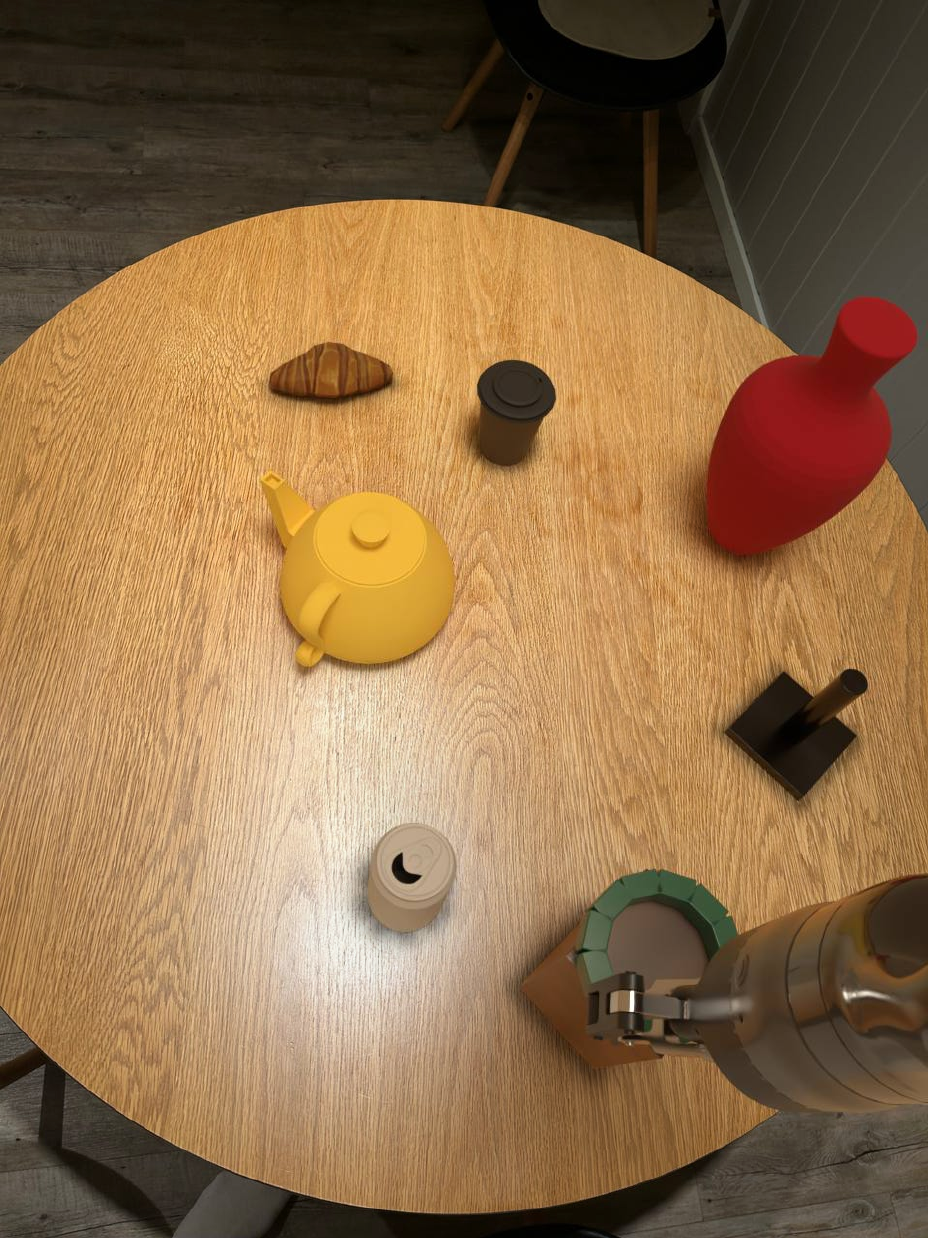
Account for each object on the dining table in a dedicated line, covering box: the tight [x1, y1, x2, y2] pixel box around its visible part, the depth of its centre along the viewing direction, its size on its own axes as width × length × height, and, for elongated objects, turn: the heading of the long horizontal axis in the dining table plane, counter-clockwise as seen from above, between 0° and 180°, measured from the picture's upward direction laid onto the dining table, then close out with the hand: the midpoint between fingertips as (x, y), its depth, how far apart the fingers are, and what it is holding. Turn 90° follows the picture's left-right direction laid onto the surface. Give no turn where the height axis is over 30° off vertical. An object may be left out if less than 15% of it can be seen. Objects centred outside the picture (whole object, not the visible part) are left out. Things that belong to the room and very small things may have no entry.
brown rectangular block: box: [518, 868, 709, 1070], centre depth 69 cm, size 8×8×18 cm
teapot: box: [259, 469, 456, 668], centre depth 86 cm, size 20×19×13 cm
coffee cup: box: [476, 359, 557, 467], centre depth 98 cm, size 8×8×10 cm
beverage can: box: [366, 822, 458, 933], centre depth 74 cm, size 6×6×12 cm
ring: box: [574, 868, 739, 1046], centre depth 60 cm, size 10×10×2 cm
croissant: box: [268, 341, 394, 400], centre depth 101 cm, size 14×7×5 cm, turn 101°
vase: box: [705, 296, 918, 556], centre depth 87 cm, size 15×15×30 cm
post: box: [724, 668, 869, 801], centre depth 84 cm, size 9×9×13 cm
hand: (691, 1035), depth 52 cm, fingers open, 8 cm apart
